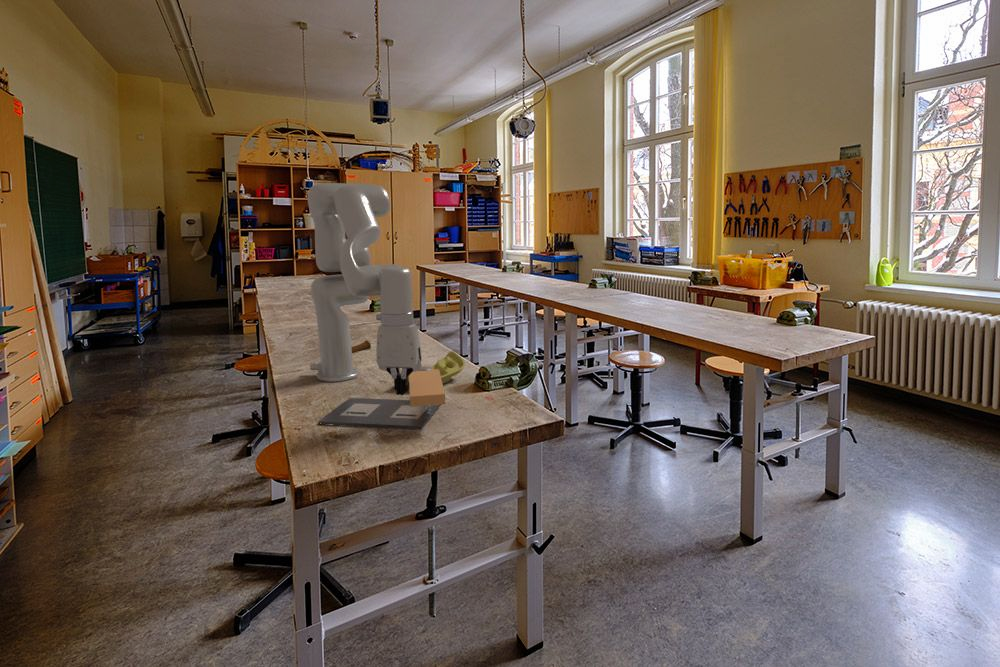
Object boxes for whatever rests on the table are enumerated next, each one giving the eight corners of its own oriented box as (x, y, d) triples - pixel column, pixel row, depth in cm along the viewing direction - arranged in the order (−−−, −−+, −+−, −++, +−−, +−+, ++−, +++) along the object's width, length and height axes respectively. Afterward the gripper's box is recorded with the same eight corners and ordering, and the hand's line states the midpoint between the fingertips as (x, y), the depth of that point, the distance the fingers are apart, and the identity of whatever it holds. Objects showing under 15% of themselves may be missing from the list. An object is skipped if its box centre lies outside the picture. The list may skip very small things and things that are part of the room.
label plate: (318, 424, 138) (316, 402, 137) (358, 394, 161) (356, 374, 159) (421, 429, 134) (420, 406, 132) (447, 397, 156) (447, 377, 155)
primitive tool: (331, 360, 200) (331, 351, 199) (321, 359, 203) (320, 349, 202) (372, 349, 216) (372, 340, 215) (362, 348, 219) (362, 339, 218)
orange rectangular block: (410, 406, 131) (409, 396, 131) (409, 376, 156) (408, 367, 155) (445, 404, 132) (444, 394, 132) (438, 374, 157) (438, 365, 157)
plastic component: (422, 385, 160) (400, 365, 165) (417, 405, 164) (395, 385, 169) (471, 365, 174) (449, 347, 179) (465, 384, 178) (444, 366, 183)
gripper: (361, 322, 134) (366, 396, 138) (422, 323, 131) (426, 399, 135) (374, 316, 141) (379, 387, 145) (432, 317, 138) (435, 389, 142)
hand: (401, 393), depth 140 cm, fingers closed
